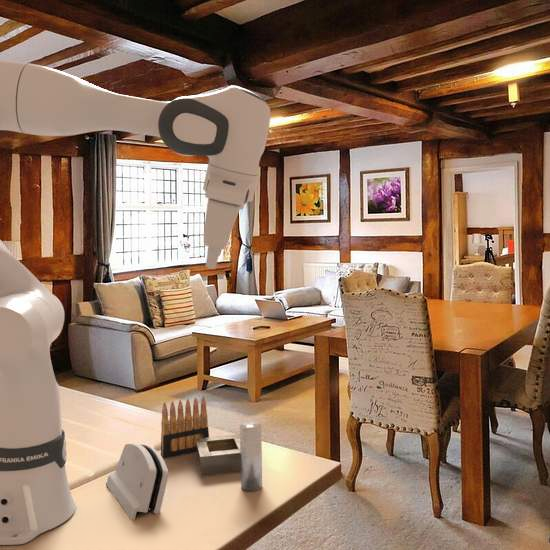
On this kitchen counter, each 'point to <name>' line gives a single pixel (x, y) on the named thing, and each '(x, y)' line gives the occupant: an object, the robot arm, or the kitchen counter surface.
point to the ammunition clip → (183, 428)
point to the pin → (251, 456)
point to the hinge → (139, 479)
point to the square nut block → (218, 455)
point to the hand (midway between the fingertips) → (213, 261)
